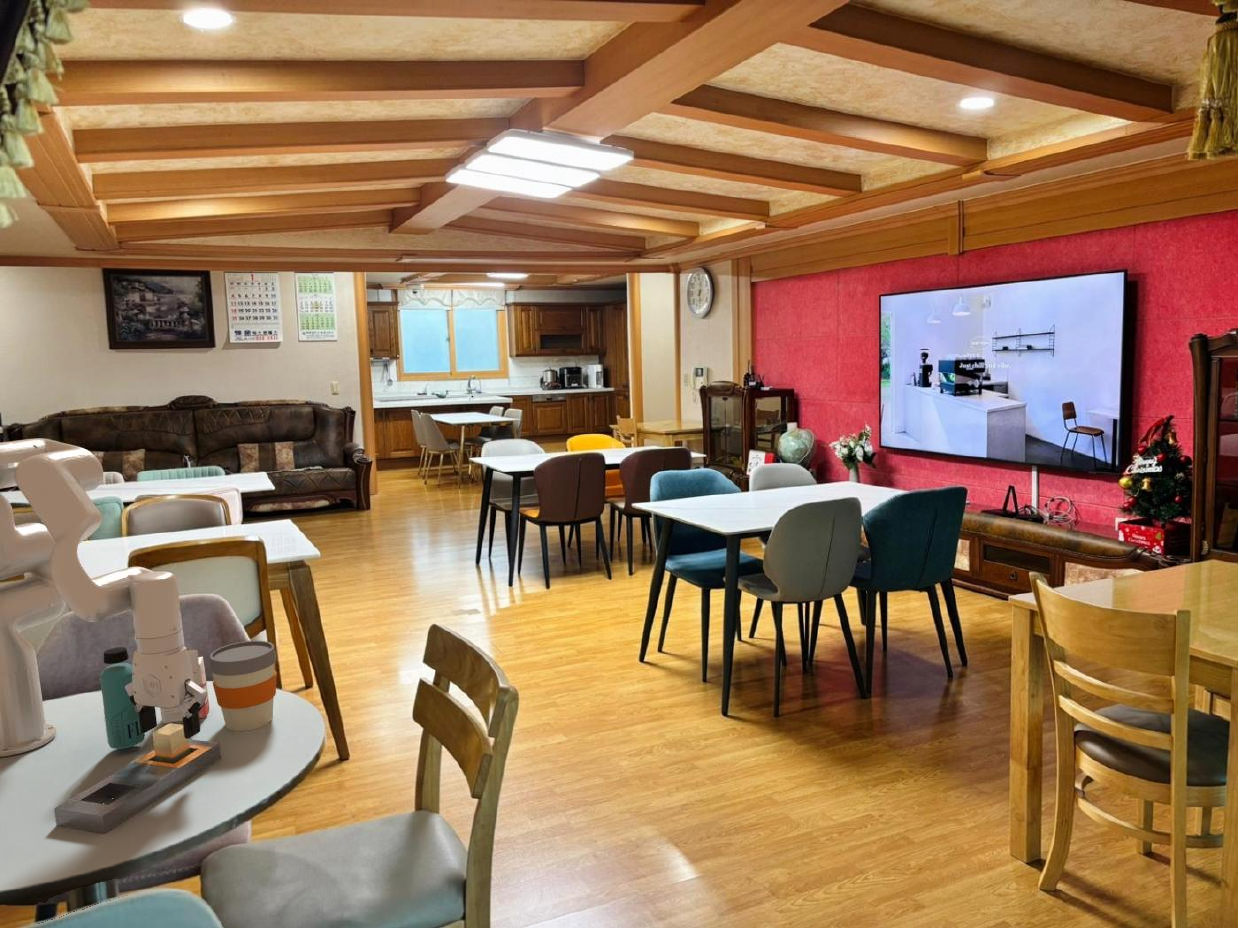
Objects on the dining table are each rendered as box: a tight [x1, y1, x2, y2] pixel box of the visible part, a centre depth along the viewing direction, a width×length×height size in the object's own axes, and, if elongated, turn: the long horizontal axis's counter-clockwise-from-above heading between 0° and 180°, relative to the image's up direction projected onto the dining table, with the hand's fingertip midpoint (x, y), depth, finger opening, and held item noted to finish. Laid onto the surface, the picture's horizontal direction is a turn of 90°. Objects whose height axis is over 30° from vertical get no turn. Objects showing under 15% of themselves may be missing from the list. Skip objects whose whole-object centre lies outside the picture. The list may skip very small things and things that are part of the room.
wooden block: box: [152, 722, 190, 764], centre depth 162 cm, size 4×4×8 cm
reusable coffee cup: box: [209, 640, 278, 732], centre depth 182 cm, size 13×13×15 cm
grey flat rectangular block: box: [53, 738, 222, 835], centre depth 156 cm, size 10×26×3 cm, turn 163°
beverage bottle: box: [99, 646, 146, 750], centre depth 171 cm, size 6×7×20 cm
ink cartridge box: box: [160, 649, 211, 724], centre depth 185 cm, size 9×5×15 cm, turn 106°
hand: (170, 732), depth 162 cm, fingers open, 9 cm apart
